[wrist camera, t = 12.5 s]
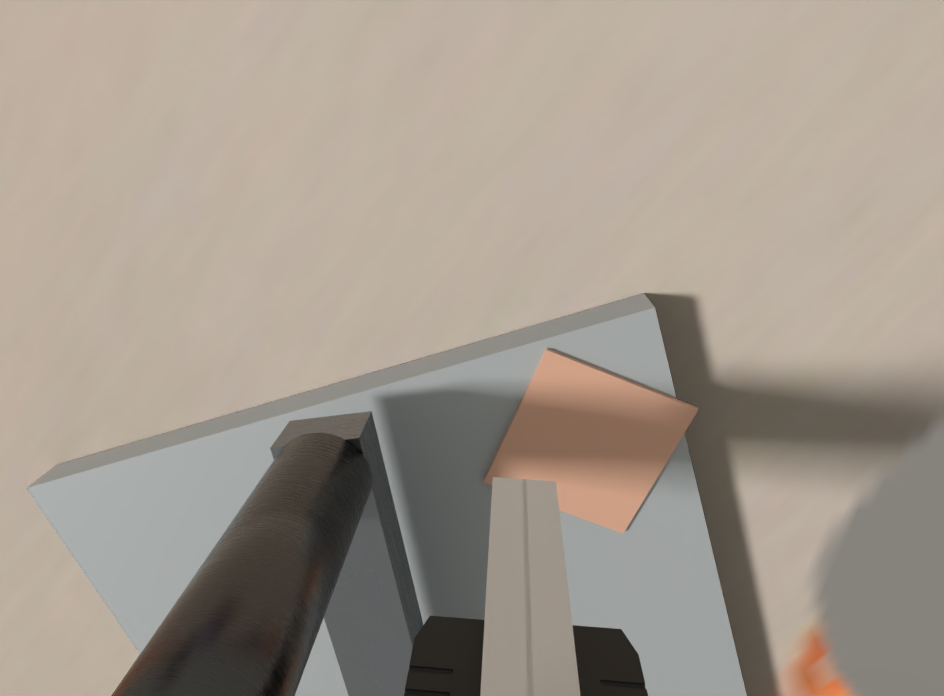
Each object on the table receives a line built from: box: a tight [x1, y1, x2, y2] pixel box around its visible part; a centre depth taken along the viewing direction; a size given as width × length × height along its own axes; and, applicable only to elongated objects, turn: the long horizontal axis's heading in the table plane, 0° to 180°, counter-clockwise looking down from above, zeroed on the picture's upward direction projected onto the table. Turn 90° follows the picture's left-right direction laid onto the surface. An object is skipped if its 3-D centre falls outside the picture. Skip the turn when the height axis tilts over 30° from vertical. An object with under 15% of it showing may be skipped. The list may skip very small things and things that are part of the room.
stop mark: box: [484, 348, 698, 534], centre depth 19 cm, size 5×5×1 cm
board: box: [26, 293, 747, 696], centre depth 24 cm, size 24×22×2 cm
